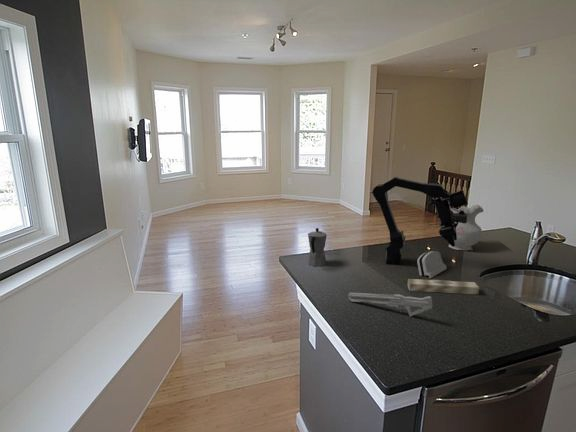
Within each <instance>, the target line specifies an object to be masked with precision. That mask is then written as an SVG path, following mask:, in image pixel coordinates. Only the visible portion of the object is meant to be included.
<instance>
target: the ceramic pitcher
mask: <svg viewBox="0 0 576 432" xmlns="http://www.w3.org/2000/svg"><path fill="white" fill-rule="evenodd" d="M448 203H449V206H450V209H451V210H452V211H453V213H459V212H460V210H462V211H464V212H465V214H467V223H459V222H458V225H457V227H456V235H457V240H454V241H455V246H454V247H452V246H451V245H450V244H448V248H450V249H452V250H456V251H457V250H458V251H465V250H466V252H469V251H468V250H471V251H474V249H473V247H472V246H475V245H476V244H478V242H480V240H481V239H482V236H483V230H482V228H481V226H480V225H478V224H477V222H476V217H477V215H479V214H480V213H484V209H483V207H482V206H480V205H479V204H473V205H472V206H470V207H468V206H466V205H464V206H460V207H458V209H457V208H454V207H451V204H450V201H448ZM455 223H456V222H455ZM441 227H443V226H441ZM445 241H446V242H447V243H448V241H447V240H446V239H445Z"/></svg>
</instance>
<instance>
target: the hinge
mask: <svg viewBox="0 0 576 432" xmlns="http://www.w3.org/2000/svg"><path fill="white" fill-rule="evenodd" d="M416 261H417V262H416V263H417V267H418V273H419V276H428V278H429V279H433V277H435V276H437V275H438V274H441V273H442V272H444V271H445V270H447V265H446V263H444V262H443V258H442V256H441V252H440V251H436V250H435V251H433V250H431V251H427V252H426V251H425V252H423V253H422V254H421V255H420V256H419V257H418V258H417V260H416Z"/></svg>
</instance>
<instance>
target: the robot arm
mask: <svg viewBox="0 0 576 432" xmlns="http://www.w3.org/2000/svg"><path fill="white" fill-rule="evenodd" d="M395 187H398V188H403V189H406V190H409V191H410V190H411V191H414V192H420V193H422V194H425V195H426V196H429V197H430V198H431V200H430V202H429V206H432V205H434V207H435V209H436V212H437V219H439V222H440V228H439V231H438V233H439V236H441V237H442V238H443V239H444V240H445V241H446V240H447V241H448V242H447V241H446V242H447V243H449V244H448V245H451V246H452V247H454V246H455V241H454V240H457V235H456V227H457V225H458V222H459V223H467V214H465V212H464V211H462V210H460V212H459V213H453V211H452V210H451V209H450V207H451V208H455V209H457V208H461V207H463V206H467V205H469V203H468V200H467V197H466V195H465V192H464V189H461V190H458V191H456V192H452V193H451V192H449V191H447V189H445V188H444V186H443V185H442V184H441V183H426V182H425V183H424V182H419V181H414V180H410V179H406V178H401V177H399V176H394V177H392V179H390V180H388V181H386V182H385V183H383V184H382V183H381V184H380V183H379V184H377V185H376V186H374V188H373V189H372V196H373V198H374V199H375V201H376V202H377V203H378V205H379V206H380V209H381V211H382V216H383V218H384V221H385V223H386V226H387V229H388V232H389V240H390V241H389V242H388V244H387V246H386V248H385V250H386V252H385V259H384V260H385V264H386V265H398V266H399V265H401V263H402V253H401V249H403V247H404V245H405V242H406V236H405V234H404V230H401V231H400V229H399V228H398V225H397V223H396V220H395V217H394V214H393V211H392V207H391V205H390V203H389V196H388V192H389V191H390V190H392V189H393V188H395ZM448 202H449V203H448ZM449 205H450V206H449ZM455 222H456V223H455ZM442 226H443V227H442Z"/></svg>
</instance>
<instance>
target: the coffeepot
mask: <svg viewBox="0 0 576 432" xmlns="http://www.w3.org/2000/svg"><path fill="white" fill-rule="evenodd" d="M319 229H320V228H319V227H315V231H311V232H307V236H308V244H309V248H310V249H309V252H308V253H309V254H308V258H307V260H308V261H307V262H308V265H309V266H311V265H312V266H311V267H315V266H320V267H324V266H325V265H327V260H326V254H325V248H326V243H327V236H328V235H327V233H326V232H324V231H320V230H319ZM323 265H324V266H323Z"/></svg>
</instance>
